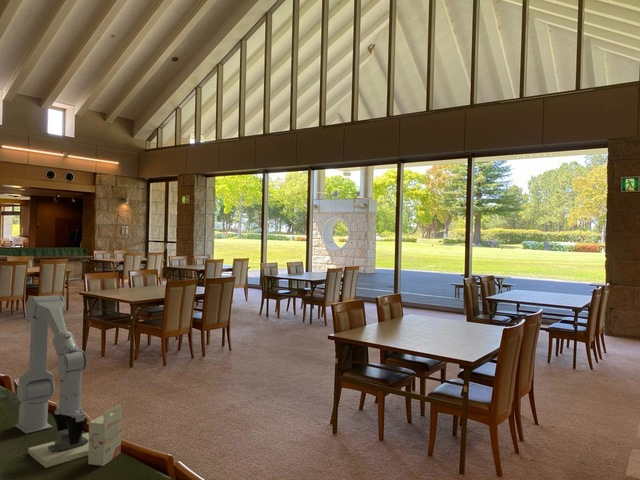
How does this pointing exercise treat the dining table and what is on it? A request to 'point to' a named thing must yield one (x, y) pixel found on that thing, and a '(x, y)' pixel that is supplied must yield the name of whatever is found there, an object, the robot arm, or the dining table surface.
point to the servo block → (65, 442)
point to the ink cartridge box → (105, 437)
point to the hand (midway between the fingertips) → (68, 440)
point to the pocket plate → (58, 453)
